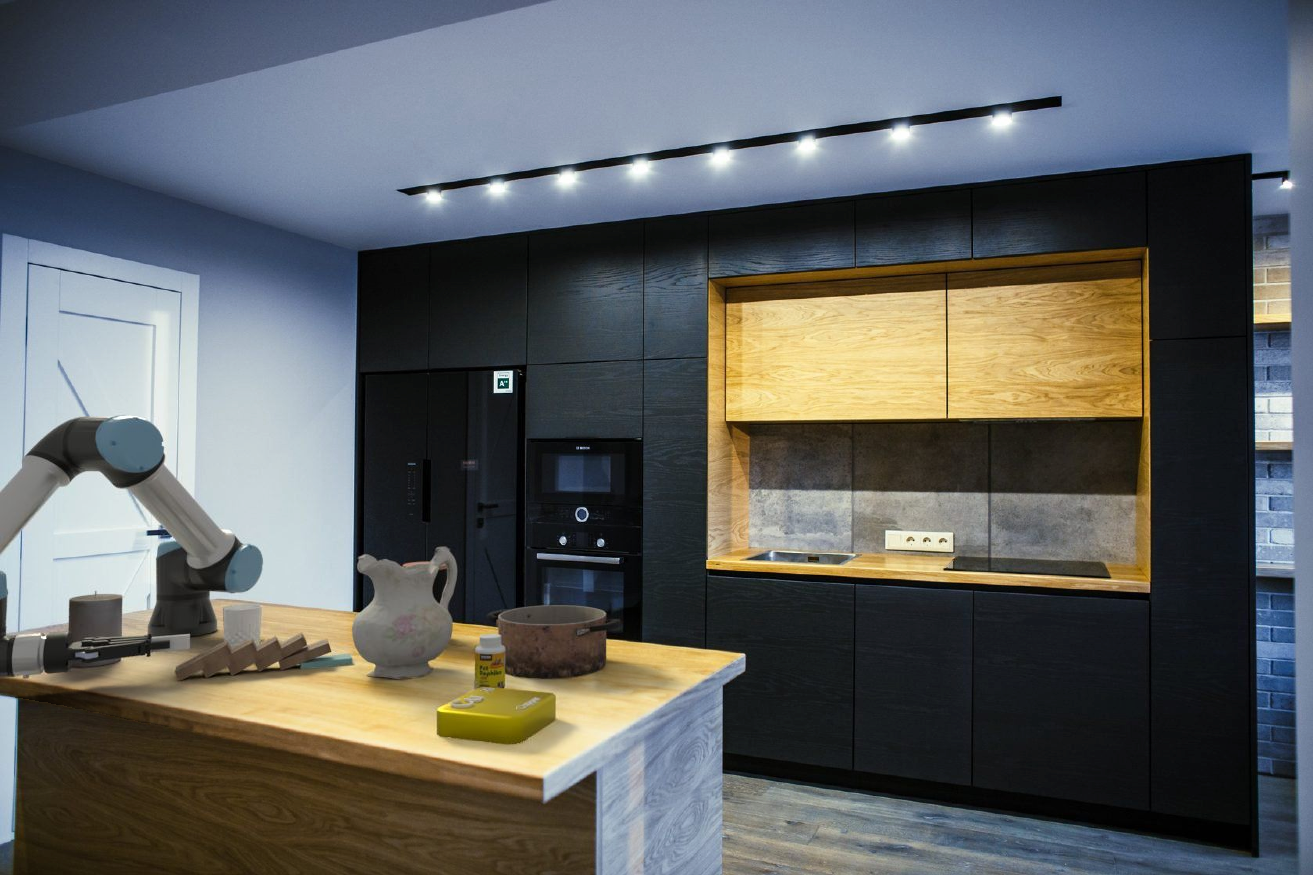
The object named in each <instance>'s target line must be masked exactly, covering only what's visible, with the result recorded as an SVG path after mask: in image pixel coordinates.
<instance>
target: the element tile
mask: <svg viewBox="0 0 1313 875" xmlns="http://www.w3.org/2000/svg"><path fill="white" fill-rule="evenodd" d="M556 697H557V696H556V694H554V693H553V692H545V691H537V690H536V691H535V690H523V689H514V688H495V687H480V688H477V689H475V688H474V689H473V690H471V691H469V692H467V693H465V694H462V695H461V696H459V697H457V698H455V699H453V700H450V701H449V702H446V703H445V704H443V705H441V706H439V707H438V708H437V709H436V735H437V736H438V735H439V736H438V737H442V738H447V737H451V738H450V739H456V738H457V740H464V741H465V740H466V741H475V742H481V741H482V743H483V742H484V743H490V742H491V744H498V743H499V744H500V745H518V744H517V743H519V744H521V742H522V743H523V741H524V742H525V741H527V740H529V739H530V738H532V737H533V736H535V735H536V734H537V733H539V732H541V731H542V730H544V729H545V728H546V727H548V726H549V725H551V724H552V723H554V722H555V721H556V718H557V717H556V716H557V715H556V712H557V711H556V709H557V708H556V705H557V704H556V700H557V699H556ZM529 737H530V738H529ZM528 738H529V739H528Z"/></svg>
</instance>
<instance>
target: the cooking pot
mask: <svg viewBox="0 0 1313 875" xmlns="http://www.w3.org/2000/svg"><path fill="white" fill-rule="evenodd" d="M486 618H487V620H488V621H491V622H492V623H496V624H495V625H496V627H497V631H498V632H497V634H499V635H501V645H503V646H504V647H505V675H506V674H507V675H509V676H514V677H517V678H526V679H537V680H540V679H541V680H545V679H546V680H548V679H549V680H551V679H552V680H554V679H569V678H575V677H576V678H577V677H582V676H587V675H591V674H593V673H597V672H598V671H601V670H602V669H603V668H605V666H606V664H607V631H608V630H612V629H616V628H618V627H620V626H621V623H622V621H621V619H617V618H613V619H607V613H606V611H604V610H603V609H599V608H597V607H596V608H595V607H592V606H591V607H589V606H581V605H562V604H561V605H560V604H559V605H558V604H555V605H554V604H553V605H547V604H546V605H534V606H532V605H531V606H525V607H523V606H522V607H517V608H512V609H510V608H509V609H508V608H507V609H505V608H504V609H500V610H499V609H498V610H494V611H491V612H488V613H487V615H486Z"/></svg>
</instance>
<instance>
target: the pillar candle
mask: <svg viewBox="0 0 1313 875" xmlns="http://www.w3.org/2000/svg"><path fill="white" fill-rule="evenodd" d="M123 597H124V596H123V594H117V593H97V590H94V594H85V595H78V596H74V597H70V598H69V600H68V630H67V631H69V632H71V633H72V636H73V642H80V641H84V638H92V637H93V638H95V637H98V636H99V637H123V636H122V635H123ZM121 659H122V658H117V659H109V660H102V661H96V662H91V663H82V662H81V660H72V665H71V668H72V667H74V668H85V667H86V668H87V667H99V666H104V665H109V664H110V665H111V664H114V663H117V662H119V661H120V660H121Z"/></svg>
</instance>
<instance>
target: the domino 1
mask: <svg viewBox="0 0 1313 875" xmlns="http://www.w3.org/2000/svg"><path fill="white" fill-rule="evenodd" d="M230 654H232V648H231V646H230V645H229V643H228V641H227V640H226V641H223V642H221V643H219V644H217V645H214V646H213V647H211V648H209V649H207V650H205V651H203V652H201V653H200V654H197V655H196V656H194V657H192V658H190V659H188V660H186V661H184V662H183V663H180V664H179V665H177V666H176V667H175V669H174V673H175V676H176V677H177V679H178V680H179V681H180V682H181V681H183V680H184V679H186V678H188V677H190V676H192V675H194V674H196V673H198V672H200V671H202V669H203V668H205V667H207V666H209V665H211V664H213V663H215V662H217V661H218V660H220V659H222V658H224V657H226V656H228V655H230Z"/></svg>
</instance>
